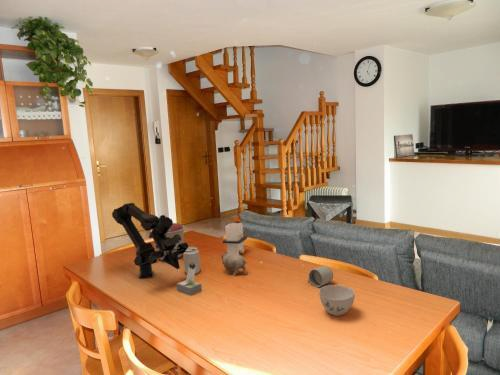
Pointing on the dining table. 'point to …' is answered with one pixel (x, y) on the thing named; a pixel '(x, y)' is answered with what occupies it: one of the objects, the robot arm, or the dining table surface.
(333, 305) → the teacup
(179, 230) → the canister
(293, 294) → the dining table surface
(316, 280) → the ceramic mug
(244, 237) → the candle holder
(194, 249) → the can
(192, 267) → the toggle lever
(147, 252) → the robot arm
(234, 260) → the rhinoceros figurine
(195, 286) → the switch box
